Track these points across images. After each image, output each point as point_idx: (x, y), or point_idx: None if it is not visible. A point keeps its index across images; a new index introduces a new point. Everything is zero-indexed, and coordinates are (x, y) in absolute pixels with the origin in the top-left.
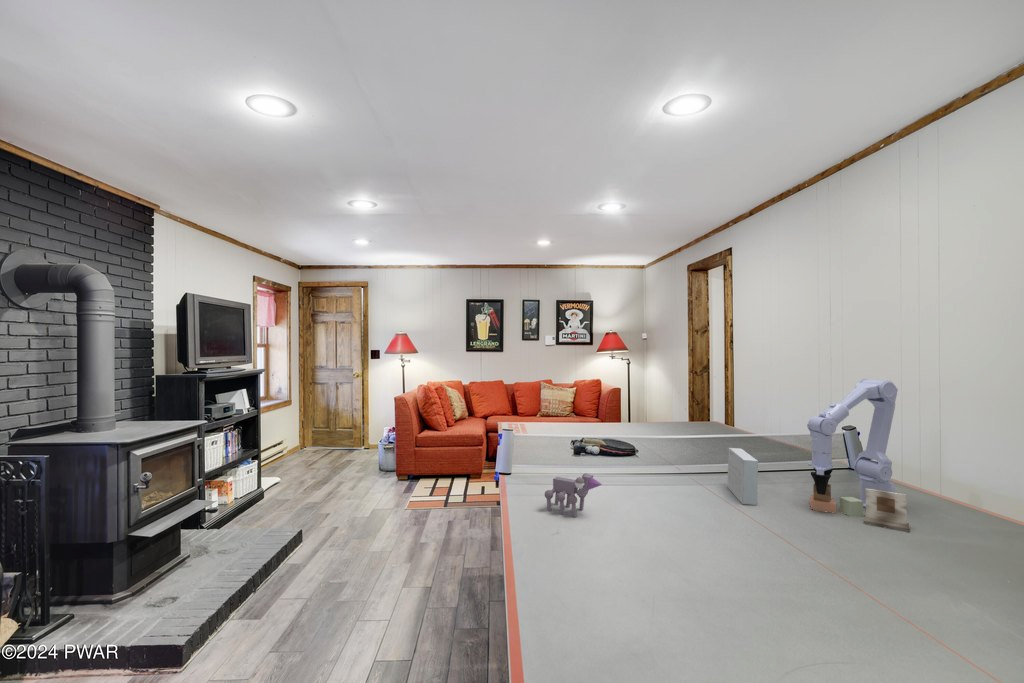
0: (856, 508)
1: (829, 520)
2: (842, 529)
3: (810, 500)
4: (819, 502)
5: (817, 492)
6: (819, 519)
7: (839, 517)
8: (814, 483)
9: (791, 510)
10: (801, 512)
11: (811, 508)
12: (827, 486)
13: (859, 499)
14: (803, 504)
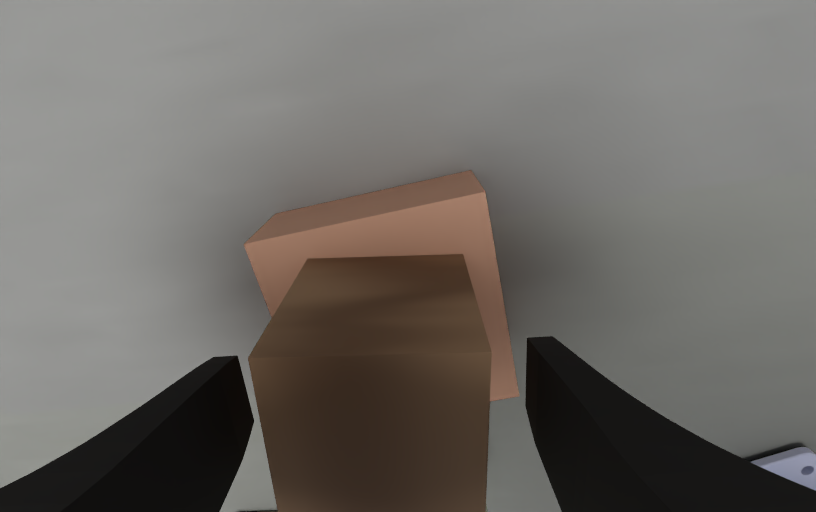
0: None
1: (117, 360)
2: (2, 438)
3: (349, 214)
4: (273, 312)
5: (198, 367)
6: (72, 303)
7: (252, 401)
8: (379, 356)
9: (103, 61)
10: (127, 156)
11: (271, 220)
12: (335, 509)
13: (809, 472)
14: (407, 123)
